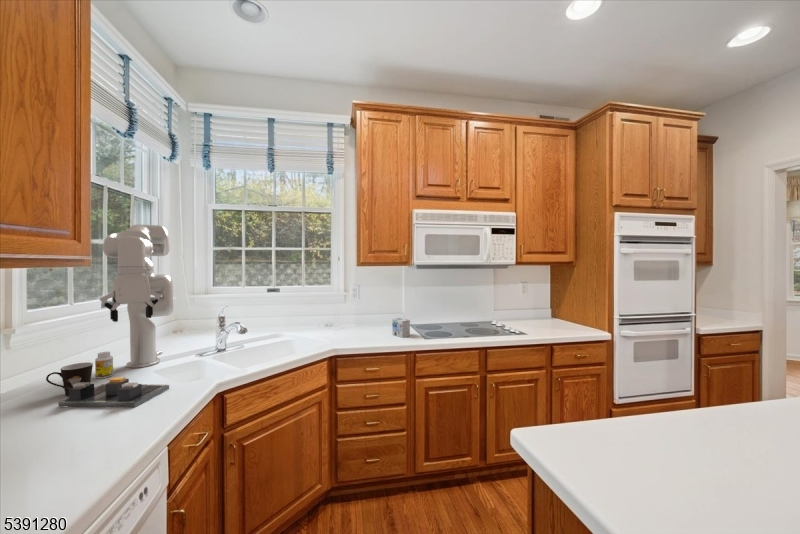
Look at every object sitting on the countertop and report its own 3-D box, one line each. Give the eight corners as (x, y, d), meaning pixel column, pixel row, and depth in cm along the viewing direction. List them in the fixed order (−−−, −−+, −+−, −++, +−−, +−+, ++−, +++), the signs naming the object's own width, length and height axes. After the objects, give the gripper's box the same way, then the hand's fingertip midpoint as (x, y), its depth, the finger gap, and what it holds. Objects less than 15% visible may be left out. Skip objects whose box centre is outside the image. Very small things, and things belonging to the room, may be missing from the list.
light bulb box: (392, 334, 217) (392, 318, 217) (399, 333, 222) (399, 317, 222) (402, 337, 209) (402, 321, 209) (410, 336, 214) (410, 319, 213)
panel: (102, 388, 126) (102, 371, 126) (169, 388, 125) (169, 371, 125) (58, 406, 110) (58, 387, 110) (134, 407, 109) (134, 387, 109)
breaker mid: (118, 389, 120) (117, 376, 120) (128, 389, 120) (128, 376, 120) (105, 395, 115) (105, 381, 115) (116, 395, 115) (116, 381, 115)
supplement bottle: (93, 377, 137) (92, 353, 137) (109, 373, 142) (109, 350, 142) (98, 379, 135) (98, 355, 135) (115, 375, 140) (115, 352, 139)
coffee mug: (99, 387, 127) (98, 361, 127) (81, 396, 118) (81, 369, 118) (64, 389, 125) (64, 363, 125) (44, 398, 116) (43, 370, 116)
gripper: (156, 271, 126) (156, 315, 126) (96, 272, 111) (96, 322, 111) (164, 271, 122) (164, 317, 122) (103, 272, 107) (104, 324, 107)
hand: (132, 319), depth 116 cm, fingers open, 9 cm apart
